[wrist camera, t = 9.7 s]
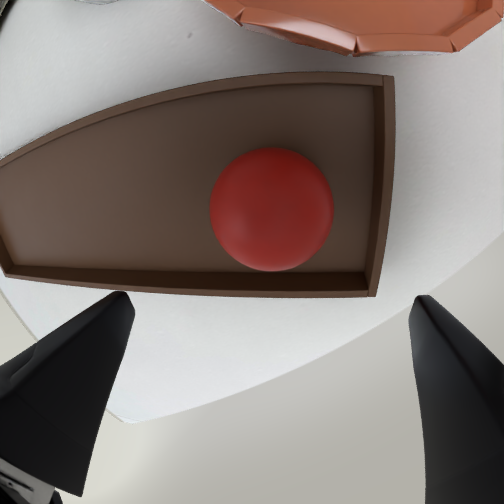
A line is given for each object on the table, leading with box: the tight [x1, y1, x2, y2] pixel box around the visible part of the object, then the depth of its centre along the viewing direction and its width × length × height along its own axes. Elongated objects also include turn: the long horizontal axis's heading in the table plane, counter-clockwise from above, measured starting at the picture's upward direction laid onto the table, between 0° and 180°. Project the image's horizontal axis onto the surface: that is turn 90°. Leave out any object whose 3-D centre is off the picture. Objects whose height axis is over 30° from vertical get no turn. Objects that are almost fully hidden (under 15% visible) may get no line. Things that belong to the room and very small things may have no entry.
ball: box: [209, 147, 334, 271], centre depth 13 cm, size 6×6×6 cm
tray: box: [0, 71, 396, 298], centre depth 18 cm, size 40×13×3 cm, turn 96°
